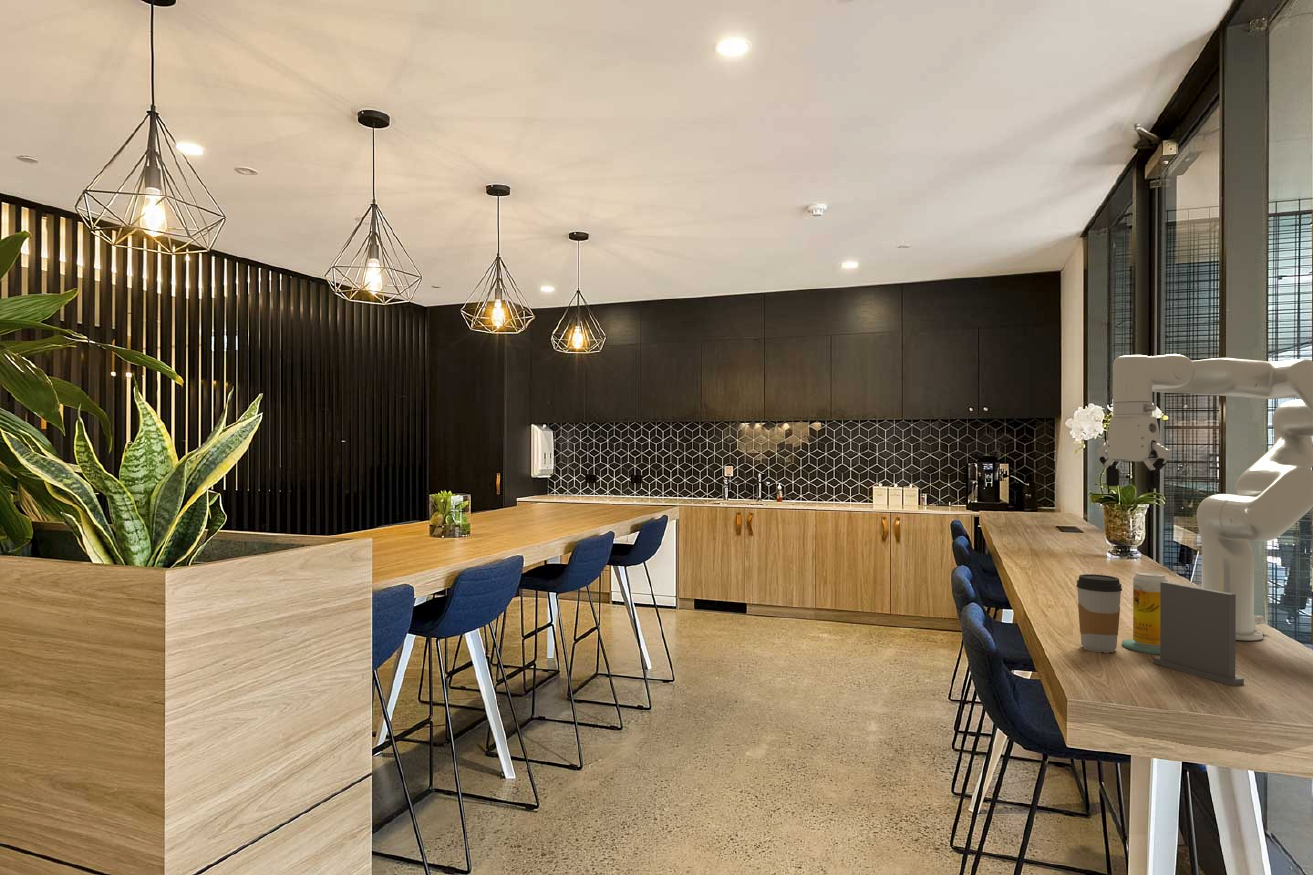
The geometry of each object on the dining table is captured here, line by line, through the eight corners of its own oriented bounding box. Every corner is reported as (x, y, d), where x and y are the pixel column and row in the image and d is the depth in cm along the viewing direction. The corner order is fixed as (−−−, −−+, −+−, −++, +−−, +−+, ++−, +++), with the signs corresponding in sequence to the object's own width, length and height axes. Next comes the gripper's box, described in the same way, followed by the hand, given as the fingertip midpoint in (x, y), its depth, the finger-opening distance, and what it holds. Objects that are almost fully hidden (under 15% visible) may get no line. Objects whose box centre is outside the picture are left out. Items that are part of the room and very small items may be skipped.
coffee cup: (1128, 655, 156) (1128, 581, 156) (1083, 653, 157) (1084, 579, 157) (1113, 644, 164) (1113, 574, 164) (1070, 642, 165) (1070, 573, 165)
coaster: (1144, 640, 168) (1144, 637, 168) (1190, 652, 158) (1190, 649, 158) (1110, 644, 164) (1110, 641, 164) (1154, 656, 155) (1154, 653, 155)
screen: (1163, 661, 152) (1164, 580, 152) (1243, 684, 137) (1244, 594, 137) (1152, 662, 151) (1153, 581, 151) (1232, 685, 136) (1232, 595, 136)
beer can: (1126, 641, 164) (1126, 571, 164) (1153, 641, 165) (1153, 571, 165) (1146, 649, 158) (1146, 576, 158) (1174, 648, 159) (1174, 576, 159)
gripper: (1182, 409, 165) (1182, 489, 165) (1110, 412, 181) (1110, 484, 181) (1157, 409, 162) (1157, 489, 162) (1086, 411, 179) (1086, 485, 179)
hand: (1132, 487), depth 172 cm, fingers open, 9 cm apart
